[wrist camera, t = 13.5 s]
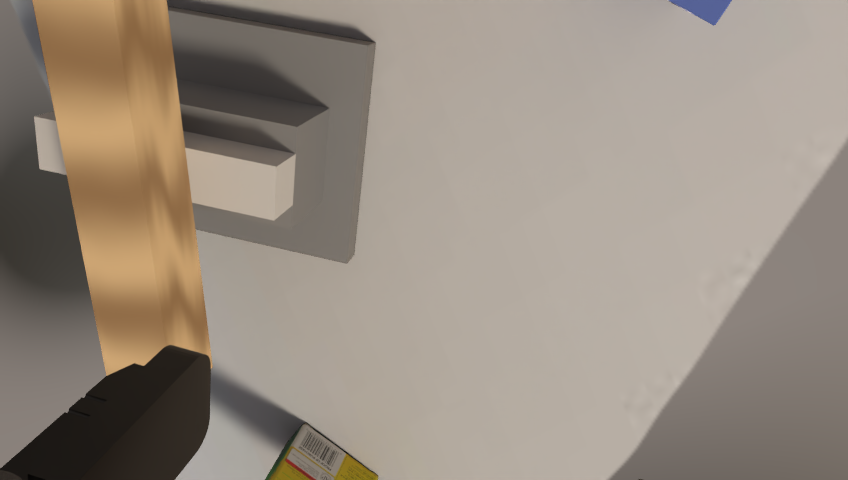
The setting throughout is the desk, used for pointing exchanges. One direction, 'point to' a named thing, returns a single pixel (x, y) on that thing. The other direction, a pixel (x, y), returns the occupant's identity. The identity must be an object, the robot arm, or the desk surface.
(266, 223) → the balance stand
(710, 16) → the walkman
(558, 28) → the desk surface
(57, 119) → the oak bar
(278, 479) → the crayon box
